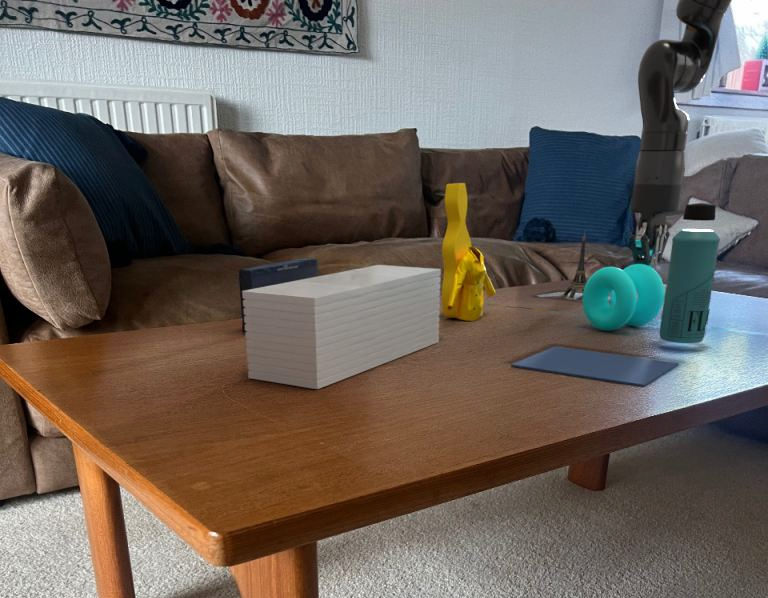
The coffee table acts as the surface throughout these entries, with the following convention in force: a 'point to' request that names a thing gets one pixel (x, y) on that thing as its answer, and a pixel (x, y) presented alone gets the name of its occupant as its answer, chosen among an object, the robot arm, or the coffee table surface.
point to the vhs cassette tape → (275, 276)
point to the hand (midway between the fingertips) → (643, 290)
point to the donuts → (623, 296)
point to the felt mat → (597, 366)
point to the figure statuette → (462, 262)
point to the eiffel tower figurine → (575, 280)
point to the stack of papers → (339, 323)
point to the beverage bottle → (690, 279)
